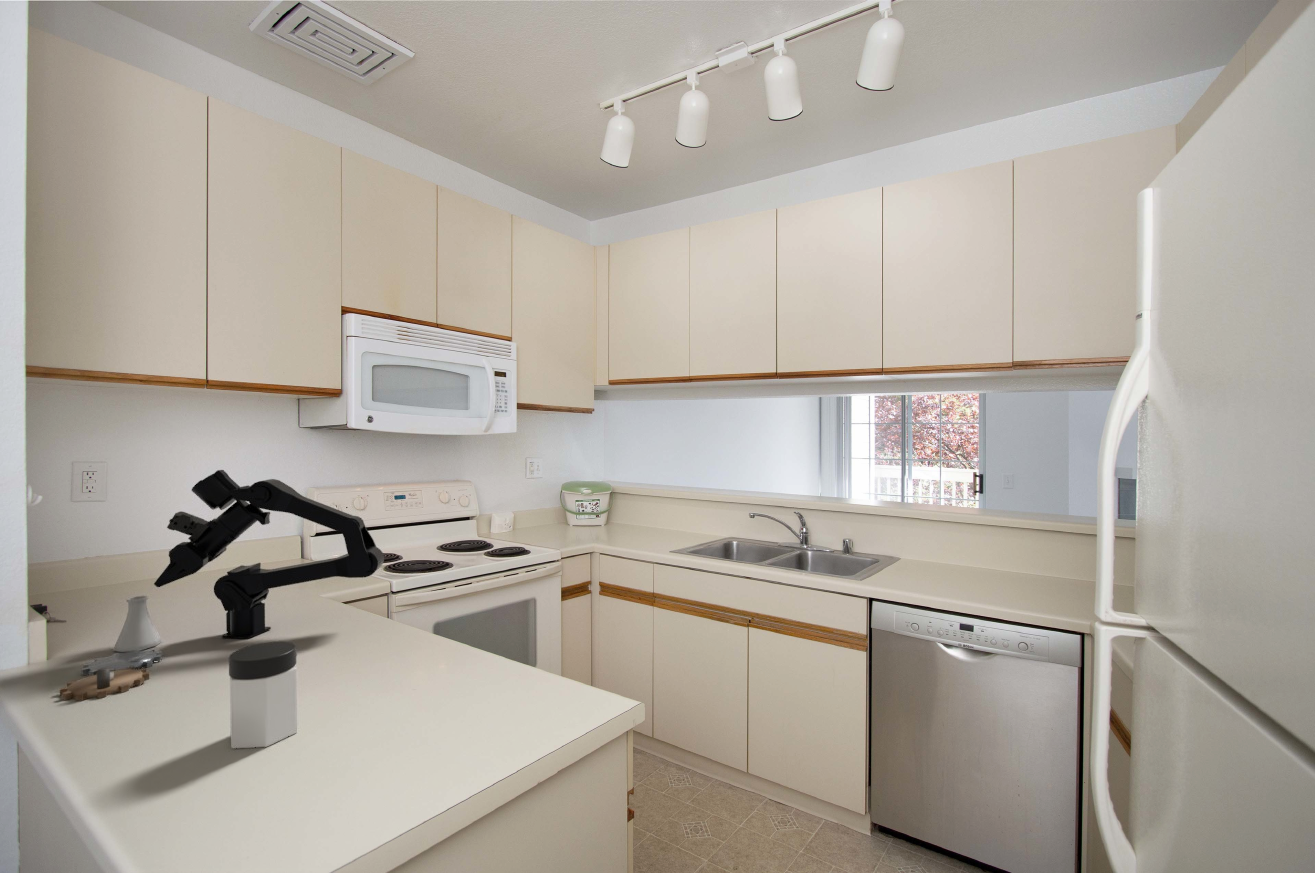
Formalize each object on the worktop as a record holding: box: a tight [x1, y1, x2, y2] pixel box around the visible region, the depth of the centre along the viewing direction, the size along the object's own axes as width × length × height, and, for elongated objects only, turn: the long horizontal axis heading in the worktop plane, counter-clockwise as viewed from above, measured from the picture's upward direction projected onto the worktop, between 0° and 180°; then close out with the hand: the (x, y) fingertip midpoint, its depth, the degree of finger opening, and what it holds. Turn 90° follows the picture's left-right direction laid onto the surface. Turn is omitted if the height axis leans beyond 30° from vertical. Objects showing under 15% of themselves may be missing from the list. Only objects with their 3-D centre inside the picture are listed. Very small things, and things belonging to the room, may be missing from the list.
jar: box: [228, 640, 299, 750], centre depth 88 cm, size 9×8×12 cm
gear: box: [81, 648, 163, 677], centre depth 115 cm, size 11×11×1 cm
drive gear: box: [59, 667, 150, 702], centre depth 105 cm, size 11×11×4 cm
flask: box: [112, 595, 163, 653], centre depth 125 cm, size 7×7×10 cm
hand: (164, 580), depth 127 cm, fingers open, 9 cm apart
